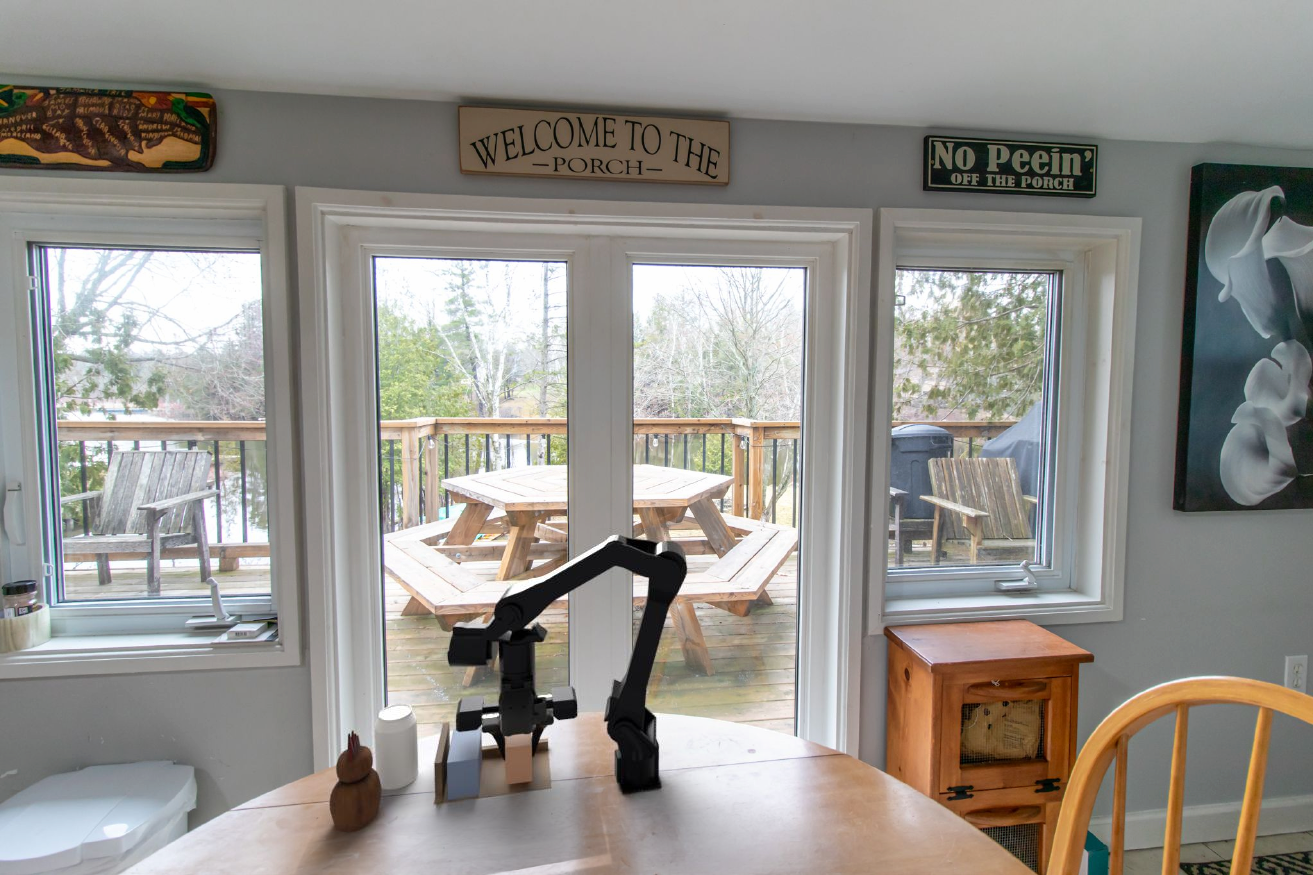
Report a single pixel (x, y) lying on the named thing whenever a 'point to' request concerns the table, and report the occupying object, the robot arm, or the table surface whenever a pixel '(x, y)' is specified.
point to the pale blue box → (464, 764)
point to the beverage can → (396, 746)
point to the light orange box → (518, 758)
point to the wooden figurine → (355, 788)
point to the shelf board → (491, 771)
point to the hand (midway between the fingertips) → (518, 757)
